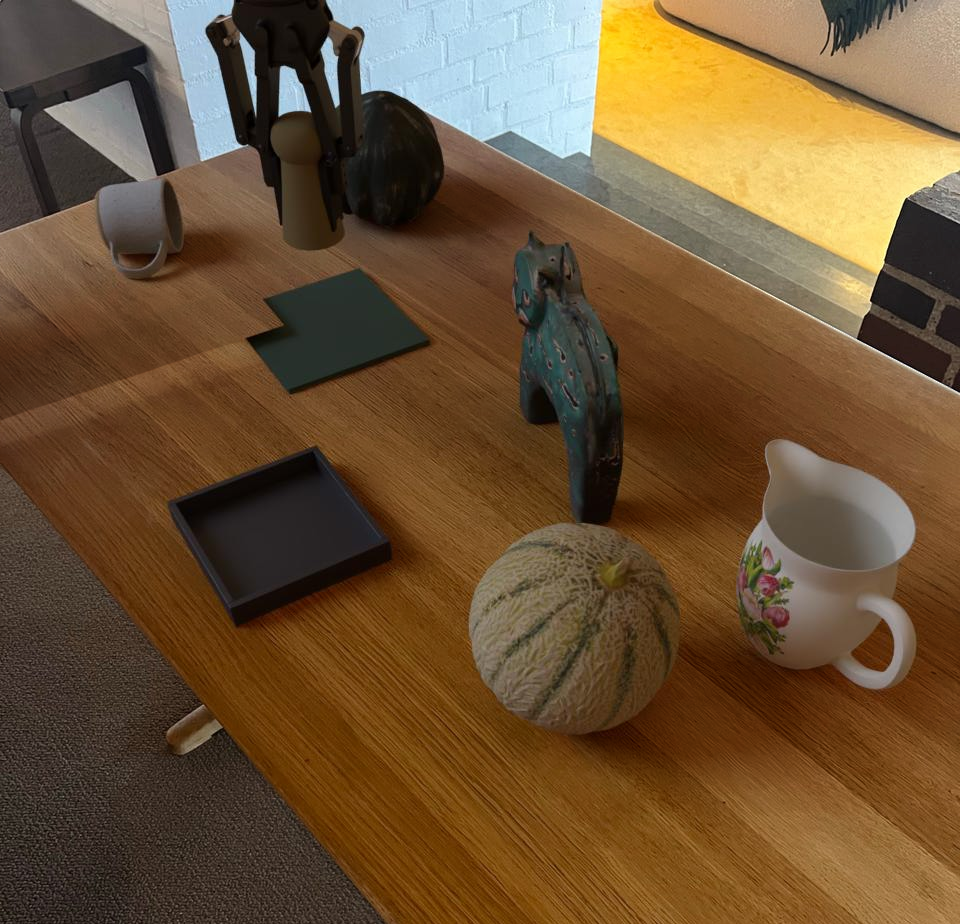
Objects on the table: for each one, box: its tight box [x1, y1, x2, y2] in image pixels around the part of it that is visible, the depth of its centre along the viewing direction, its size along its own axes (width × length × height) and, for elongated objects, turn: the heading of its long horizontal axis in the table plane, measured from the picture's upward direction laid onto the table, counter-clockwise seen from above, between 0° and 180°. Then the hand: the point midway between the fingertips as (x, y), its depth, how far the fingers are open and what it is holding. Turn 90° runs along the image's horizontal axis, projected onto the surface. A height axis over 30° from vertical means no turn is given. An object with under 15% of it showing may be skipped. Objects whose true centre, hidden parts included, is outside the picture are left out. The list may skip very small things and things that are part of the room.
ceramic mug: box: [93, 177, 185, 280], centre depth 111 cm, size 11×8×8 cm
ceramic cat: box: [511, 229, 625, 525], centre depth 84 cm, size 20×6×20 cm, turn 14°
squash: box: [335, 89, 445, 228], centre depth 115 cm, size 14×15×15 cm
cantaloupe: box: [468, 522, 681, 736], centre depth 69 cm, size 15×15×15 cm
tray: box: [166, 444, 393, 628], centre depth 84 cm, size 14×14×2 cm
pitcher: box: [735, 438, 917, 691], centre depth 72 cm, size 11×18×14 cm, turn 24°
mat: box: [245, 267, 431, 395], centre depth 104 cm, size 16×16×1 cm
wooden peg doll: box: [270, 110, 346, 252], centre depth 92 cm, size 6×6×11 cm
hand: (311, 221), depth 95 cm, fingers closed on wooden peg doll, 4 cm apart
